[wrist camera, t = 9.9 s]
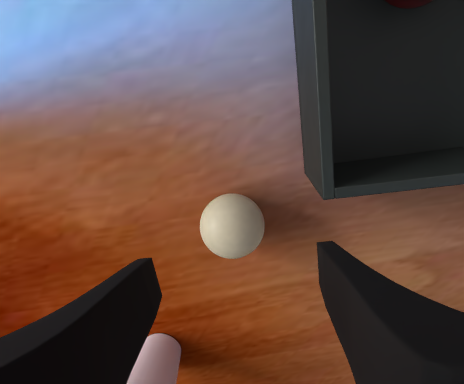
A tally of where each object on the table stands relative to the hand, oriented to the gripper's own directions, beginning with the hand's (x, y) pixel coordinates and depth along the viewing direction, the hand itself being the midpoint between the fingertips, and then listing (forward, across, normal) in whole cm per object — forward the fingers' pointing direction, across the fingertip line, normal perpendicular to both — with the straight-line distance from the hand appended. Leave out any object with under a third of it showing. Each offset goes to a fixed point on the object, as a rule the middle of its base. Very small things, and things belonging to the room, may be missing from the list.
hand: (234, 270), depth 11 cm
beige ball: (+7, +1, +1) cm, 7 cm away
